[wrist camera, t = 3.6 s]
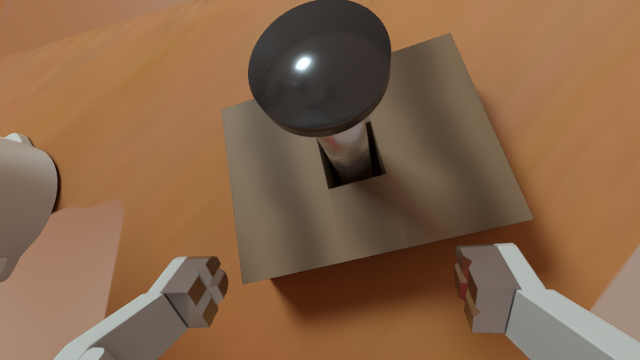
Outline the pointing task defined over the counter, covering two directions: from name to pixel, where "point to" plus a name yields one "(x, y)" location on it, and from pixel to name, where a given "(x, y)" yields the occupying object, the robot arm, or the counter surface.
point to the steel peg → (324, 78)
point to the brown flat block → (378, 192)
